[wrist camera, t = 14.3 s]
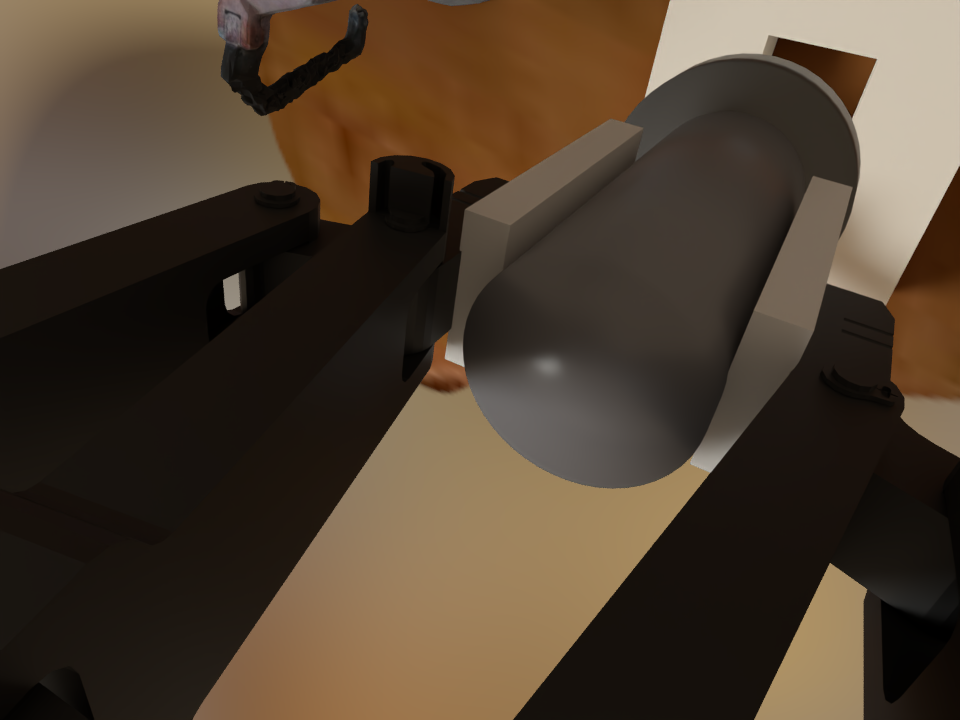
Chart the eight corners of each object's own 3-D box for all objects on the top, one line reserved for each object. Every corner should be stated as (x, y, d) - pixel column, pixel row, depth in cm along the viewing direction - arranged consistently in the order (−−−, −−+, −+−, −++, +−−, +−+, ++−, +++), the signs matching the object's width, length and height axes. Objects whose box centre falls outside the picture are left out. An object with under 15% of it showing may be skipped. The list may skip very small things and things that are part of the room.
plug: (699, 12, 20) (422, 120, 9) (909, 58, 19) (889, 265, 7) (647, 197, 24) (392, 447, 12) (821, 251, 22) (712, 603, 11)
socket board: (732, -156, 33) (701, -170, 28) (1086, -108, 28) (1117, -115, 24) (631, 213, 43) (597, 246, 38) (879, 292, 38) (873, 340, 34)
